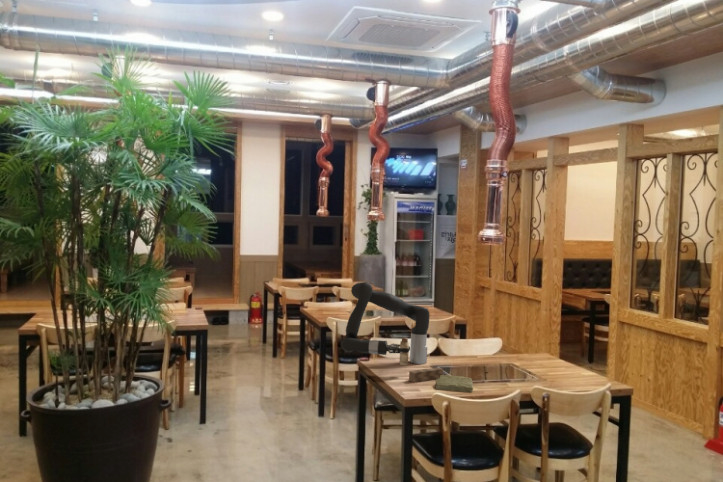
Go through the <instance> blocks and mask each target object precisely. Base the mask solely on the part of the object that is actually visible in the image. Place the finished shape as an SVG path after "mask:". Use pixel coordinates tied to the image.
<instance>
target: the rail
mask: <svg viewBox="0 0 723 482" xmlns="http://www.w3.org/2000/svg"><path fill="white" fill-rule="evenodd" d="M408 372H409V375H408V381H409V382H412V383H417V382H418V383H420V382H426V381H433V380H437V379H439V378H440V375H444V369H443V368H440V367H431V368H424V369H417V370H416V369H415V370H409V371H408Z"/></svg>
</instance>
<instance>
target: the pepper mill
mask: <svg viewBox="0 0 723 482" xmlns="http://www.w3.org/2000/svg"><path fill="white" fill-rule="evenodd" d="M399 344H400V347H399V348H409V346H410V342H409V338H408V337H401V341H400V343H399ZM409 356H410V352H409V353H404V352H402V353H399V365H401V366H408V365H409Z"/></svg>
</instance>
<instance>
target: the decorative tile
mask: <svg viewBox="0 0 723 482" xmlns="http://www.w3.org/2000/svg"><path fill="white" fill-rule="evenodd" d="M435 388H436V390H440V391H453V392H464V393H473V390H474V386H473V380H472V378H471V377H466V376H462V375H461V376H460V375H449V374H443V375H440V378H439V379H435Z"/></svg>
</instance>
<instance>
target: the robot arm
mask: <svg viewBox="0 0 723 482" xmlns="http://www.w3.org/2000/svg"><path fill="white" fill-rule="evenodd" d="M350 290H351V295H352V296H353V297H354V299H357V301H356V304H355V306H354V308H353V309H352V312H351V314H350V315H349V318H348V320H347V323H346V326H345V327H346V328H345V336H344V338H342V340H341V342H340V347H341V350H343V351H344V352H345V353H352V352H359V353H362V354H371V355H382V356H387V353H389V354H400V353H402V352H404V353H409V363H411V364H415V365H417V364H418V365H424V364H425V363H426V364H427V359H428V346H427V338H428V337H427V336H428V330H429V325H430V316H431V315H430V311H429V309H428V308H427V307H425V306H420V305H416V304H411V303H408V302H406V300H405V301H404V300H403V299H402V298H400V297H398V296H397V295H395V294H392V293H389V292H385V291H378V290H374V289H373V286H372V284H371V283H370V282H368V281H366V282H365V281H364V282H363V281H362V282H356V283H355V284H353V285H352V287H351V289H350ZM368 303H371V304H373V305H374V306H377V307H380V308H382V309H384V310H386V311H390V312H392V313H395V314H400V315H403V316H405V317H407V318H408V319H410V320H412V321H414V322H415V326H414V327H412V328H411V331H410V345H409V348H400V343H399V344H398V343H390V344H388V341H387V340H380V339H379V340H378V339H371V340H370V339H359V338H358V333H359V330H360V327H361V323H362V319H363V317H364V314H365V311H366V309H367V306H368Z"/></svg>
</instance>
